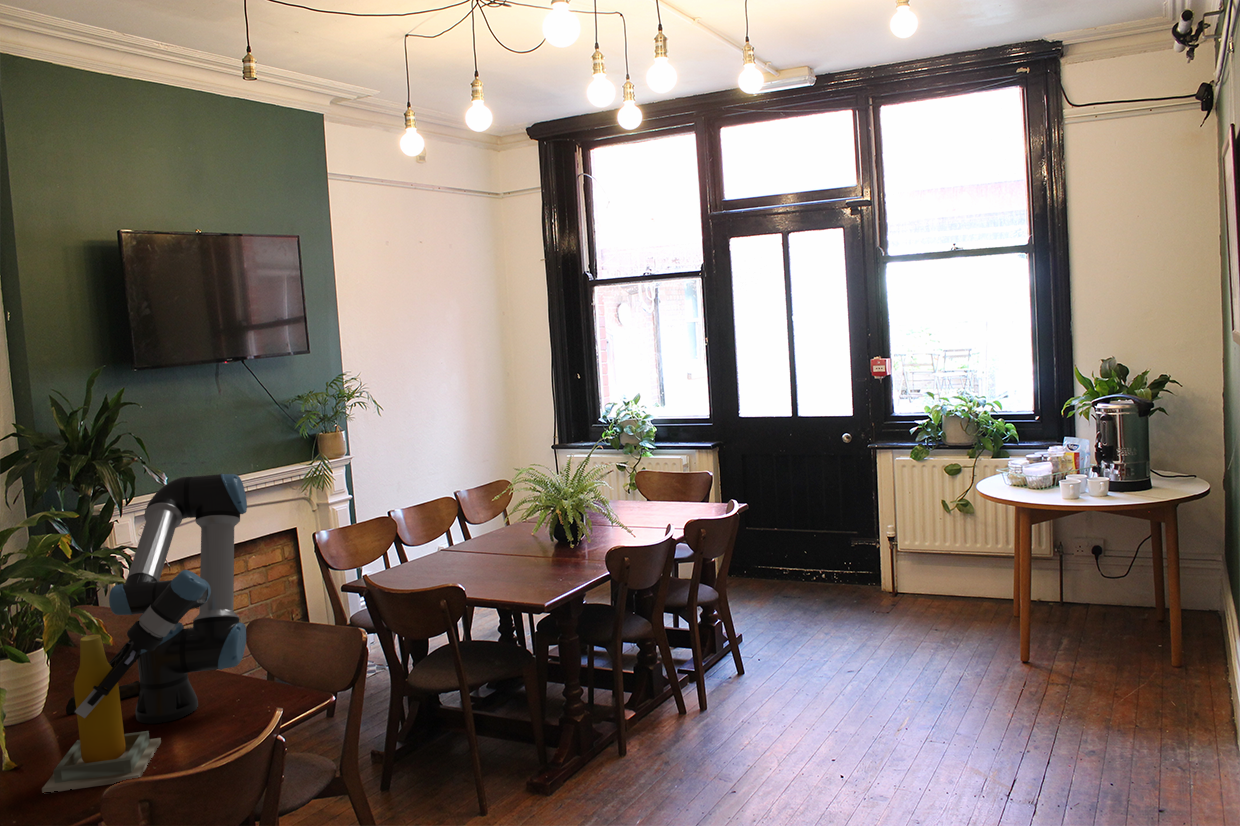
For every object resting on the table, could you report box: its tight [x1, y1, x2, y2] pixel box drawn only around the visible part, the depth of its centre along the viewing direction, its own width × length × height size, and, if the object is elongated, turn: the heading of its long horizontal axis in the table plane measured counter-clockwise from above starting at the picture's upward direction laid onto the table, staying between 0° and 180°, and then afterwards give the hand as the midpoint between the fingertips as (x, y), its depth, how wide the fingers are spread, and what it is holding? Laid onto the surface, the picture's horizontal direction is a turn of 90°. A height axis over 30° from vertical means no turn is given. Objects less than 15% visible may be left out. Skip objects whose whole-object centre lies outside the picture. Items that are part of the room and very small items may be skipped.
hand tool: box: [65, 680, 141, 715], centre depth 263 cm, size 19×4×5 cm, turn 133°
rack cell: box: [41, 730, 162, 794], centre depth 224 cm, size 20×20×4 cm
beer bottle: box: [73, 634, 126, 763], centre depth 222 cm, size 9×9×29 cm
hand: (82, 706), depth 221 cm, fingers closed on beer bottle, 9 cm apart
